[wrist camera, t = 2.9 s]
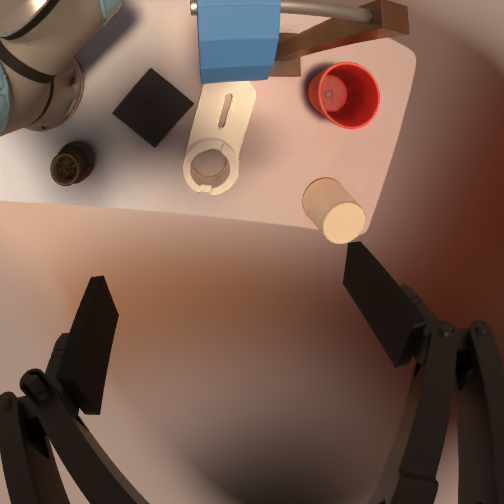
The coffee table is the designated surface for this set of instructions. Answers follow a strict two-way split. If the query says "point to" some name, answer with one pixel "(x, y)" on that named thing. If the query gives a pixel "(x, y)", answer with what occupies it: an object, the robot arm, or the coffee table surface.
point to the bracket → (219, 133)
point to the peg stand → (333, 29)
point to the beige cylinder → (333, 210)
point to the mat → (152, 107)
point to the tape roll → (237, 39)
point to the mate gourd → (72, 164)
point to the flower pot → (345, 95)
